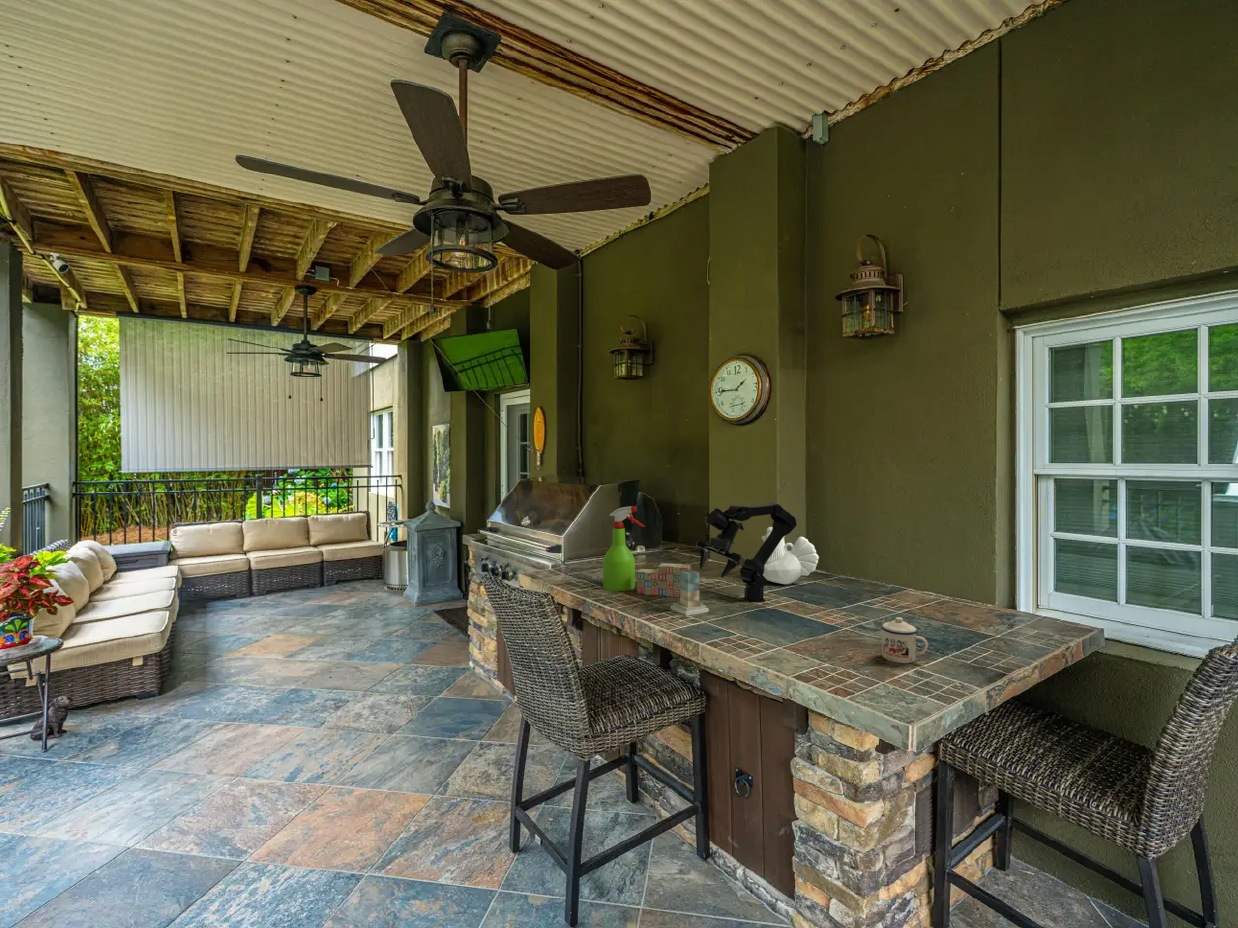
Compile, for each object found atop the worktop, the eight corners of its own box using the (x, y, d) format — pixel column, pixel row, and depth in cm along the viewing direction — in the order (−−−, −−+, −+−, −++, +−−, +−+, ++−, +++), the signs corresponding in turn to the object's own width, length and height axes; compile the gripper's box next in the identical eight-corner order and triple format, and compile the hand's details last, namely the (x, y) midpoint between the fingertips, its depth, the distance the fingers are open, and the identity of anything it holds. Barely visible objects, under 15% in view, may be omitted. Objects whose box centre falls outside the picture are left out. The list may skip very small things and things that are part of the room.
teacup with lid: (877, 659, 171) (878, 618, 171) (885, 650, 179) (886, 611, 178) (923, 668, 164) (924, 626, 164) (930, 659, 171) (931, 618, 171)
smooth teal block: (691, 604, 225) (691, 570, 225) (699, 607, 221) (699, 572, 220) (680, 606, 223) (680, 571, 222) (687, 609, 218) (688, 574, 218)
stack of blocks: (636, 594, 246) (636, 564, 246) (640, 590, 252) (640, 561, 252) (688, 598, 240) (688, 567, 240) (691, 594, 246) (691, 564, 246)
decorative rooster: (752, 582, 266) (753, 526, 266) (772, 576, 277) (772, 523, 277) (804, 592, 249) (805, 532, 248) (822, 586, 260) (823, 528, 259)
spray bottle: (641, 592, 249) (641, 508, 247) (599, 590, 253) (599, 507, 252) (647, 584, 262) (647, 504, 261) (607, 582, 266) (607, 503, 265)
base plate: (692, 605, 229) (692, 599, 229) (708, 611, 220) (708, 605, 220) (670, 608, 224) (670, 602, 224) (686, 615, 215) (686, 609, 215)
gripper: (699, 521, 228) (682, 558, 225) (743, 537, 218) (726, 576, 214) (709, 530, 237) (692, 566, 234) (751, 546, 226) (735, 584, 223)
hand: (711, 573), depth 226 cm, fingers open, 9 cm apart
